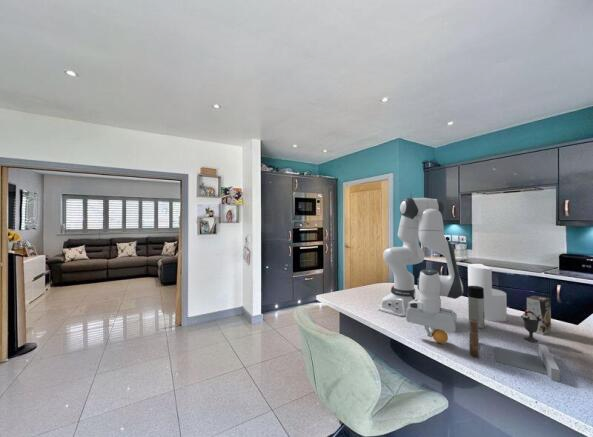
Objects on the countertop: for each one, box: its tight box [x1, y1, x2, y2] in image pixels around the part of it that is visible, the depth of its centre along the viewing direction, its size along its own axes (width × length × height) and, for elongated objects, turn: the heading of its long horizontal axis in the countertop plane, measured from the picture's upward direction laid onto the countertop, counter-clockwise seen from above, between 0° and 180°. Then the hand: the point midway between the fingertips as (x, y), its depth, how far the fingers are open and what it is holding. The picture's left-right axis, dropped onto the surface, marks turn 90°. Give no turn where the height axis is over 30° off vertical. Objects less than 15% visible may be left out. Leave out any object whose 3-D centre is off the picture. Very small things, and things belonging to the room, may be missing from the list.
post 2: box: [468, 331, 480, 359], centre depth 100 cm, size 3×3×9 cm
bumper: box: [538, 343, 561, 383], centre depth 92 cm, size 2×20×4 cm, turn 144°
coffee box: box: [526, 295, 552, 336], centre depth 121 cm, size 9×6×16 cm
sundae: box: [520, 305, 541, 344], centre depth 112 cm, size 7×7×15 cm
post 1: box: [469, 321, 479, 334], centre depth 111 cm, size 3×3×9 cm
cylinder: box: [467, 263, 508, 322], centre depth 141 cm, size 17×17×28 cm
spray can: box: [467, 285, 486, 329], centre depth 128 cm, size 7×7×20 cm
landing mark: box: [493, 345, 548, 375], centre depth 97 cm, size 14×14×1 cm
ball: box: [432, 329, 449, 344], centre depth 111 cm, size 6×6×6 cm
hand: (430, 336), depth 112 cm, fingers closed
